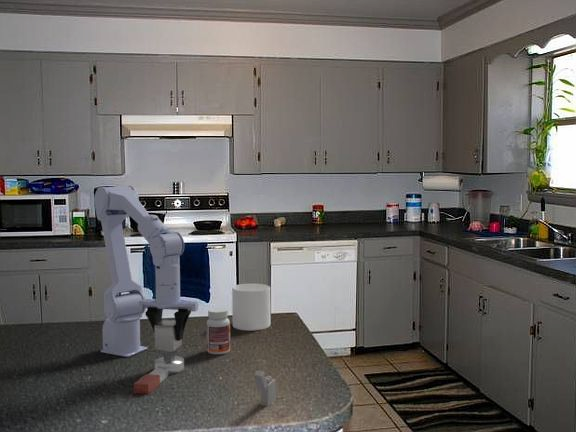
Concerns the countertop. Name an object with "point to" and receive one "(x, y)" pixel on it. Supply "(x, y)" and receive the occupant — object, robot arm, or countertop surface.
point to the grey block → (166, 335)
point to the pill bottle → (218, 331)
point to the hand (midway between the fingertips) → (169, 338)
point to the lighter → (265, 387)
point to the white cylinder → (251, 306)
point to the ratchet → (159, 372)
